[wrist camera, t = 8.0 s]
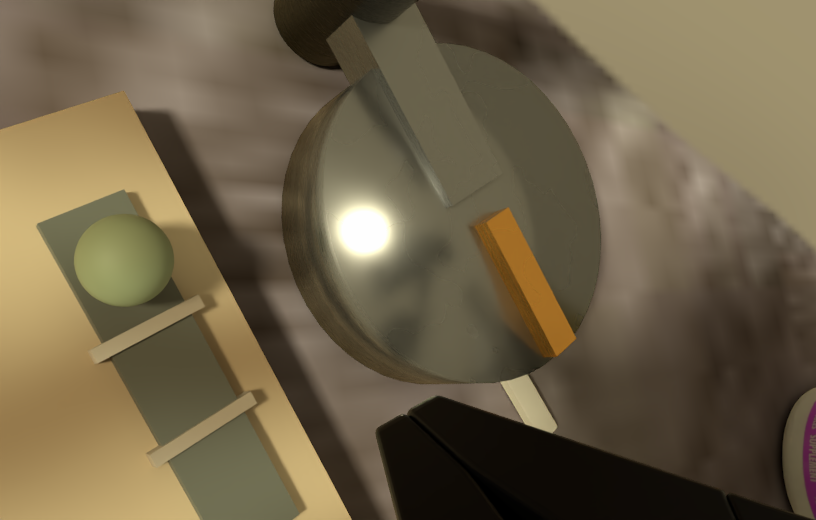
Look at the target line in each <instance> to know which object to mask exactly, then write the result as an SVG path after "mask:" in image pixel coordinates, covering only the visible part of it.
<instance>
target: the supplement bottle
mask: <svg viewBox="0 0 816 520" xmlns="http://www.w3.org/2000/svg"><path fill="white" fill-rule="evenodd" d="M782 464H783V475H784V481H785V487H786V491H787V495H788V498H789V501H790V504H791V506H792V509H793V511H794V513H795V514H799V515H802V516H805V517H808V518H811V519H815V520H816V387H815V388H813V389H811V390H809V391H807V392H806V393H805V394H803V395H802V396H801V397H800V398H799V399H798V401H797V402H796V403H795V405H794V406H793V408H792V410H791V412H790V414H789V417H788V419H787V423H786V427H785V431H784V437H783V447H782Z"/></svg>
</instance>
